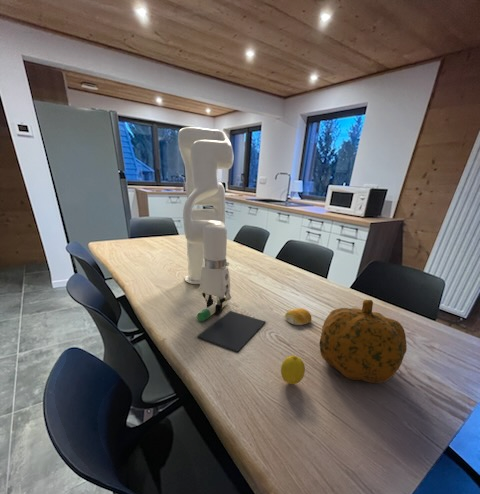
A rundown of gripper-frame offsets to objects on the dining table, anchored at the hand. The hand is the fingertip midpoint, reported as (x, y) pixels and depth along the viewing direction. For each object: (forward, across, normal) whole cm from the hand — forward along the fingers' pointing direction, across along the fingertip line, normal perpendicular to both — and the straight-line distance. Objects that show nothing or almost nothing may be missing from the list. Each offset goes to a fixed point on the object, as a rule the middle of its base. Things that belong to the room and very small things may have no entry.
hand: (214, 311), depth 96 cm
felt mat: (0, -12, +7) cm, 14 cm away
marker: (0, 0, +1) cm, 1 cm away
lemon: (0, -36, +21) cm, 42 cm away
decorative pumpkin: (0, -49, +6) cm, 49 cm away
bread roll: (0, -28, -11) cm, 30 cm away
